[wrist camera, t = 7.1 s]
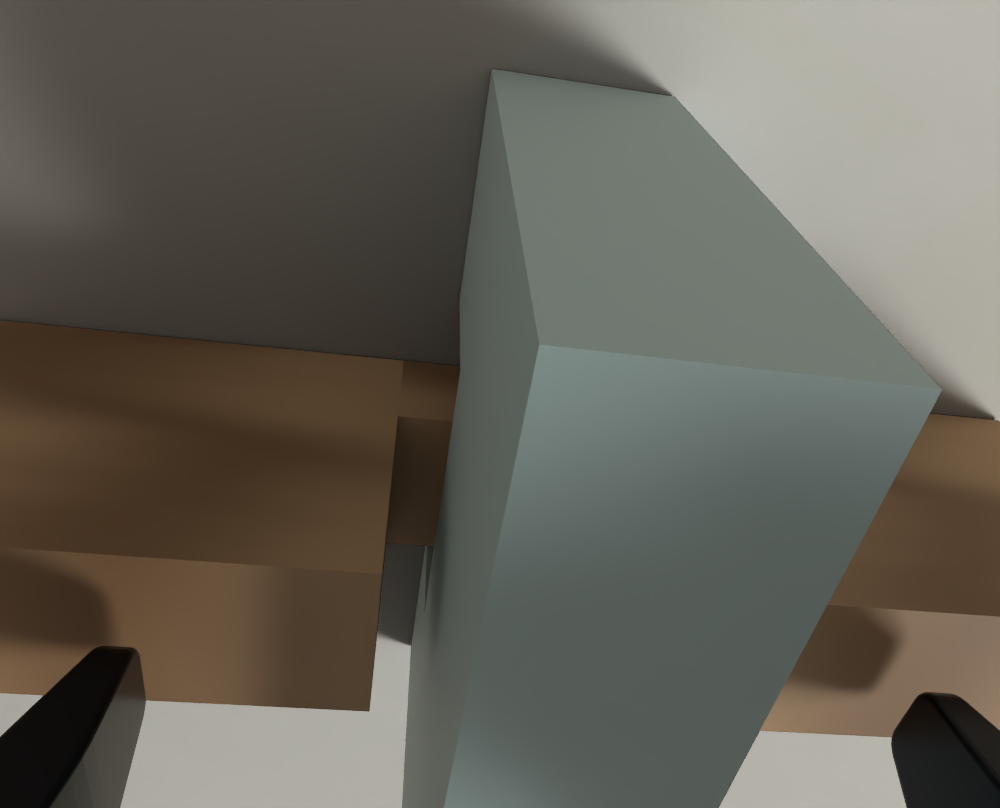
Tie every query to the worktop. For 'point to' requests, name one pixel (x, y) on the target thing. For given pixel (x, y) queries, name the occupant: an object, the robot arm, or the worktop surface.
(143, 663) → the slot rail
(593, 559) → the cross plate
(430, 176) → the worktop surface
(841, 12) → the worktop surface
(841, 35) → the worktop surface
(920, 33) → the worktop surface
